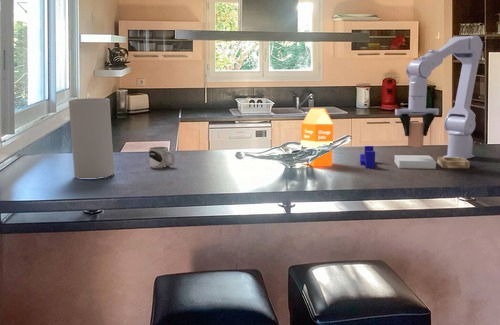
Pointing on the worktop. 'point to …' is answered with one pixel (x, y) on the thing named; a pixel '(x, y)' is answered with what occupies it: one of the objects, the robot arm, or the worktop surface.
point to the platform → (415, 161)
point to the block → (416, 134)
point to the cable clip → (368, 158)
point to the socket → (453, 162)
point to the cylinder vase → (91, 137)
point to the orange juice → (318, 134)
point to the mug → (160, 157)
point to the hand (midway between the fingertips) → (415, 135)
